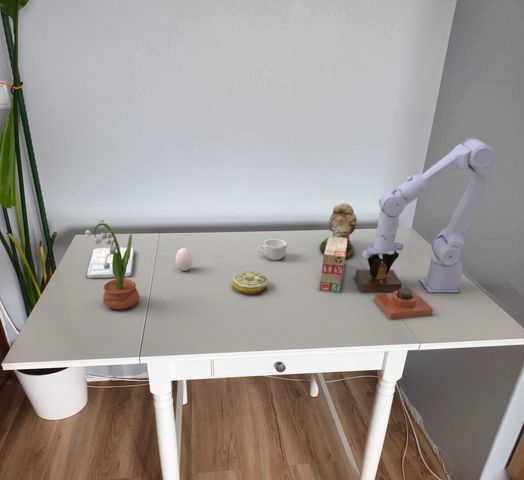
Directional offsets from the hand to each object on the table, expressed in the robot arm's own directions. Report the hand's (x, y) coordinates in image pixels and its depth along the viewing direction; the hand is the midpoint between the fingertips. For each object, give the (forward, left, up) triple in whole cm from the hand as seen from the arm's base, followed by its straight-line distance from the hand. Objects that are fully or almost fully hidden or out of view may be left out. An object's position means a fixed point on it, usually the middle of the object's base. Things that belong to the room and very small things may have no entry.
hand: (378, 274), depth 155 cm
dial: (0, 0, -1) cm, 1 cm away
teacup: (+32, -20, -4) cm, 38 cm away
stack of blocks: (+13, -6, -4) cm, 15 cm away
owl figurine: (+8, -27, -4) cm, 28 cm away
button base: (-4, +14, -4) cm, 15 cm away
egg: (+61, -10, -4) cm, 62 cm away
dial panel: (0, 0, -4) cm, 4 cm away
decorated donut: (+40, +2, -4) cm, 40 cm away
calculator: (+85, -14, -4) cm, 86 cm away
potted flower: (+78, +12, -4) cm, 79 cm away
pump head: (-4, +14, 0) cm, 15 cm away
